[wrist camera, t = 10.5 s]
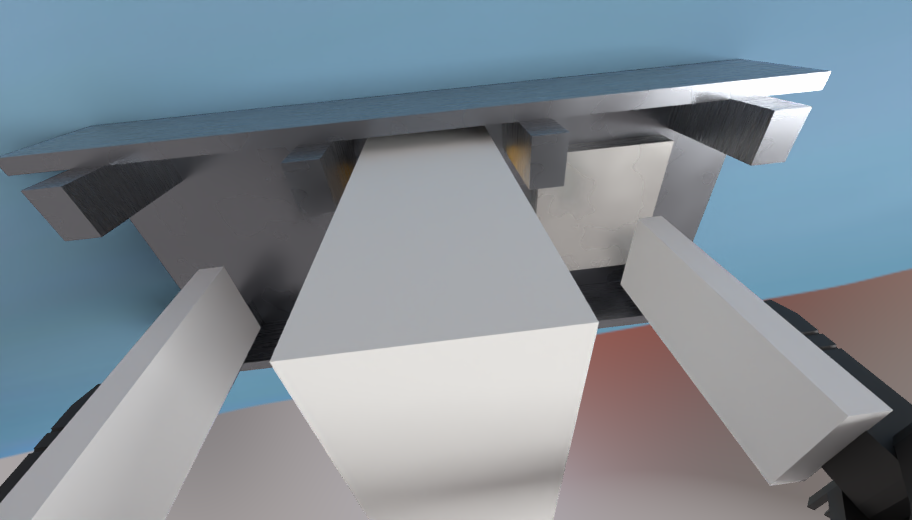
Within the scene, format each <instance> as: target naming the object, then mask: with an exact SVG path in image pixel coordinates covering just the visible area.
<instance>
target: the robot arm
mask: <svg viewBox="0 0 912 520" xmlns="http://www.w3.org/2000/svg"><path fill="white" fill-rule="evenodd" d="M621 286H622V287H623V288H624V290H625V291H626V292H627V294H628V295H629V296H630V298H631V299H632V300H633V302H634V303H635V304H636V306H637V307H638V308H639V310H640V311H641V313H642V314H643V315H644V317H645V318H646V319H647V321H648V322H649V323H650V325H651V326H652V327H653V329H654V330H655V331H656V333H657V334H658V335H659V337H660V338H661V339H662V341H663V342H664V343H665V345H666V346H667V347H668V349H669V350H670V351H671V353H672V354H673V355H674V357H675V358H676V360H677V361H678V362H679V363H680V365H681V366H682V368H683V369H684V370H685V372H686V373H687V374H688V376H689V377H690V378H691V380H692V381H693V382H694V383H695V385H696V386H697V388H698V389H699V391H700V392H701V393H702V395H703V396H704V397H705V399H706V400H707V401H708V403H709V404H710V405H711V407H712V408H713V409H714V411H715V412H716V413H717V415H718V416H719V417H720V419H721V420H722V421H723V423H724V424H725V425H726V427H727V428H728V430H729V431H730V432H731V433H732V435H733V436H734V438H735V439H736V440H737V442H738V443H739V444H740V446H741V447H742V448H743V450H744V451H745V452H746V454H747V455H748V456H749V458H750V459H751V460H752V462H753V463H754V464H755V466H756V467H757V468H758V470H759V471H760V472H761V474H762V475H763V477H764V478H765V479H766V481H767V482H768V483H769V485H770V486H771V485H778V484H785V483H792V482H799V481H805V480H807V479H808V478H809V477H810V476H812V475H813V474H814V473H815V472H817V471H818V470H819V469H820V468H823V469H824V470H825V472H826V473H827V474H828V475H829V476H830V477H831V479H832V480H833V481H831V482H830V483H829V484H827V485H826V486H825V487H823V488H822V489H821V490H819V491H818V492H816V493H815V494H814V495H812V496H811V497H810V498H809V501H808V506H807V507H808V508H811V509H813V510H815V509H817V508H818V507H820V506H821V505H823V504H824V503H825V502H827V501H828V502H829V509H828V510H827V511H826V513H825V514H824V515H825V516H827V517H829V518H830V519H831V520H912V405H911V404H910V403H909V402H908V401H907V400H905V399H904V398H903V397H901V396H900V395H899V394H898V393H896V392H895V391H894V390H893V389H891V388H890V387H889V386H888V385H886V384H885V383H884V382H883V381H881V380H880V379H879V378H877V377H876V376H875V375H874V374H873V373H871V372H870V371H869V370H867V369H866V368H865V367H864V366H863V365H861V364H860V363H859V362H857V361H856V360H855V359H854V358H852V357H851V356H850V355H849V354H847V353H846V352H845V351H844V350H842V349H838V348H837V347H836V344H835V343H834V342H832V341H831V340H830V339H829V338H827V337H826V336H825V335H823V334H819V333H818V330H817V329H816V328H815V327H813V326H812V325H811V324H810V323H808V322H807V321H806V320H805V319H803V318H802V317H801V316H800V315H798V314H797V313H795V312H793V311H791V310H790V309H787V308H786V307H784V306H782V305H780V304H778V303H776V302H774V301H772V300H766V301H762V300H761V299H760V298H759V297H758V296H756V295H755V294H754V293H753V292H752V291H750V290H749V289H748V288H747V287H746V286H745V285H743V284H742V283H741V282H740V281H739V280H737V279H736V278H735V277H734V276H733V275H731V274H730V273H729V272H728V271H727V270H725V269H724V268H723V267H722V266H721V265H719V264H718V263H717V262H716V261H715V260H714V259H712V258H711V257H710V256H709V255H708V254H706V253H705V252H704V251H703V250H702V249H700V248H699V247H698V246H697V245H696V244H694V243H693V242H692V241H691V240H690V239H688V238H687V237H686V236H685V235H684V234H682V233H681V232H680V231H679V230H678V229H677V228H675V227H674V226H673V225H672V224H671V223H669V222H668V221H667V220H666V219H665V218H663V217H662V216H656V217H647V218H639V219H638V221H637V224H636V228H635V232H634V236H633V239H632V243H631V247H630V250H629V254H628V258H627V261H626V265H625V269H624V272H623V276H622V280H621ZM260 328H261V327H260V325H259V324H258V322H257V321H256V319H255V317H254V316H253V314H252V312H251V311H250V309H249V307H248V306H247V304H246V302H245V301H244V299H243V297H242V296H241V294H240V293H239V291H238V289H237V288H236V286H235V284H234V283H233V281H232V279H231V278H230V276H229V274H228V273H227V271H226V269H225V268H224V267H215V268H207V269H199V270H198V271H197V272H196V273H195V274H194V276H193V277H192V278H191V279H190V280H189V281H188V283H187V284H186V285H185V286H184V287H183V289H182V290H181V291H180V292H179V293H178V294H177V296H176V297H175V298H174V299H173V300H172V301H171V303H170V304H169V305H168V306H167V307H166V309H165V310H164V311H163V312H162V313H161V314H160V316H159V317H158V318H157V319H156V320H155V321H154V323H153V324H152V325H151V326H150V327H149V329H148V330H147V331H146V332H145V333H144V334H143V336H142V337H141V338H140V339H139V340H138V342H137V343H136V344H135V345H134V346H133V347H132V349H131V350H130V351H129V352H128V353H127V354H126V356H125V357H124V358H123V359H122V360H121V362H120V363H119V364H118V365H117V366H116V367H115V369H114V370H113V371H112V372H111V373H110V374H109V376H108V377H107V378H106V379H105V380H104V382H103V383H102V384H98V385H96V386H95V387H94V388H93V389H91V390H90V391H89V392H88V393H86V394H85V395H84V396H83V397H81V398H80V399H79V400H78V401H76V402H75V403H74V404H73V405H72V406H71V407H70V408H69V409H68V410H67V411H66V412H65V413H64V415H63V416H62V417H61V418H60V419H59V420H58V421H57V423H56V424H55V425H54V426H53V427H52V428H51V429H52V431H51V433H47V434H46V435H45V436H44V437H43V439H42V440H41V441H40V442H39V443H38V444H37V445H36V446H35V448H34V452H33V453H31V454H28V456H27V457H26V458H25V459H24V460H23V461H22V462H21V464H20V465H19V466H18V467H17V468H16V469H15V471H14V472H13V473H12V474H11V475H10V476H9V477H8V478H7V480H6V481H5V482H4V483H3V484H2V485H1V486H0V520H165V519H166V517H167V515H168V513H169V511H170V509H171V507H172V505H173V503H174V501H175V499H176V497H177V495H178V493H179V491H180V489H181V487H182V485H183V483H184V481H185V479H186V477H187V475H188V473H189V471H190V469H191V467H192V465H193V463H194V461H195V459H196V457H197V455H198V453H199V451H200V449H201V447H202V445H203V443H204V441H205V439H206V437H207V435H208V433H209V431H210V429H211V427H212V425H213V423H214V421H215V419H216V417H217V415H218V413H219V411H220V409H221V407H222V405H223V402H224V400H225V398H226V396H227V394H228V392H229V390H230V388H231V386H232V384H233V382H234V380H235V378H236V376H237V374H238V372H239V370H240V368H241V366H242V364H243V362H244V360H245V358H246V356H247V354H248V352H249V350H250V348H251V346H252V344H253V342H254V340H255V338H256V336H257V334H258V332H259V330H260Z"/></svg>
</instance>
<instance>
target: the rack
mask: <svg viewBox="0 0 912 520" xmlns="http://www.w3.org/2000/svg"><path fill="white" fill-rule="evenodd" d="M830 73H831V71H826V70H819V69H811V68H804V67H796V66H789V65H782V64H774V63H767V62H759V61H752V60H744V59H736V60H727V61H717V62H707V63H697V64H688V65H678V66H668V67H658V68H649V69H639V70H629V71H620V72H610V73H600V74H590V75H581V76H571V77H561V78H552V79H542V80H532V81H522V82H513V83H503V84H493V85H484V86H474V87H464V88H454V89H445V90H435V91H425V92H415V93H406V94H396V95H386V96H377V97H367V98H357V99H347V100H338V101H328V102H318V103H309V104H299V105H289V106H279V107H270V108H260V109H250V110H241V111H231V112H221V113H211V114H202V115H192V116H182V117H173V118H163V119H153V120H143V121H134V122H124V123H114V124H104V125H95V126H89V127H86V128H83V129H80V130H77V131H74V132H71V133H68V134H65V135H62V136H59V137H56V138H53V139H50V140H47V141H44V142H41V143H38V144H35V145H32V146H29V147H26V148H23V149H20V150H17V151H14V152H11V153H8V154H5V155H2V156H0V168H1V169H2V170H3V171H4V172H5V173H6V174H7V175H8V176H11V175H21V174H30V173H40V172H49V171H58V170H67V171H65V172H63V173H61V174H58V175H56V176H54V177H51V178H49V179H47V180H44V181H42V182H40V183H38V184H35V185H33V186H31V187H28V188H26V189H24V190H22V191H21V192H22V193H23V194H24V195H25V196H26V198H27V199H28V200H29V201H30V202H31V203H32V204H33V205H34V207H35V208H36V209H37V210H38V211H39V212H40V213H41V214H42V216H43V217H44V218H45V219H46V220H47V221H48V222H49V223H50V225H51V226H52V227H53V228H54V229H55V230H56V231H57V232H58V234H59V235H60V236H61V237H62V238H63V239H64V240H65V241H70V240H79V239H89V238H98V237H103V236H104V235H106V234H107V233H108V232H110V231H111V230H113V229H114V228H116V227H117V226H119V225H120V224H121V223H123V222H124V221H126V220H127V219H129V218H130V220H131V221H132V223H133V224H134V225H135V227H136V228H137V230H138V231H139V232H140V234H141V235H142V236H143V238H144V239H145V241H146V242H147V243H148V245H149V246H150V247H151V249H152V250H153V252H154V253H155V254H156V256H157V257H158V259H159V260H160V261H161V263H162V264H163V265H164V267H165V268H166V270H167V271H168V272H169V274H170V275H171V276H172V278H173V279H174V281H175V282H176V283H177V285H178V286H179V288H180V289H181V290H182V289H183V287H184V286H185V285H186V284H187V283H188V281H189V280H190V279H191V278H192V277H193V276H194V274H195V273H196V272H197V271H198V270H199V269H207V268H215V267H224V268H225V269H226V271H227V273H228V274H229V276H230V278H231V279H232V281H233V283H234V284H235V286H236V288H237V289H238V291H239V293H240V294H241V296H242V297H243V299H244V301H245V302H246V304H247V306H248V307H249V309H250V311H251V312H252V314H253V316H254V317H255V319H256V321H257V322H258V324H259V325H260V327H261V328H260V330H259V332H258V334H257V336H256V338H255V340H254V342H253V344H252V346H251V348H250V350H249V352H248V354H247V356H246V358H245V360H244V362H243V364H242V366H241V368H240V370H239V372H240V371H247V370H255V369H264V368H272V365H271V364H270V360H271V357H272V355H273V353H274V350H275V348H276V346H277V344H278V341H279V339H280V337H281V334H282V332H283V330H284V328H285V325H286V323H287V321H288V318H289V316H290V314H291V311H292V309H293V307H294V305H295V302H296V300H297V298H298V295H299V293H300V291H301V289H302V286H303V284H304V282H305V279H306V277H307V275H308V273H309V270H310V268H311V266H312V263H313V261H314V259H315V257H316V254H317V252H318V250H319V247H320V245H321V243H322V241H323V238H324V236H325V234H326V231H327V229H328V227H329V225H330V222H331V220H332V218H333V215H334V213H335V211H336V209H337V206H338V204H339V202H340V199H341V197H342V195H343V193H344V190H345V188H346V186H347V183H348V181H349V179H350V177H351V174H352V172H353V170H354V167H355V165H356V163H357V161H358V158H359V156H360V154H361V151H362V149H363V147H364V144H365V142H366V140H367V138H371V137H381V136H390V135H400V134H409V133H419V132H428V131H438V130H447V129H457V128H466V127H475V126H485V128H486V129H487V131H488V133H489V135H490V136H491V138H492V140H493V141H494V143H495V145H496V147H497V148H498V150H499V152H500V153H501V155H502V157H503V159H504V160H505V162H506V164H507V165H508V167H509V169H510V170H511V172H512V174H513V176H514V177H515V179H516V181H517V182H518V184H519V186H520V188H521V189H522V191H523V193H524V194H525V196H526V198H527V200H528V201H529V203H530V205H531V206H532V208H533V210H534V212H535V213H536V215H537V217H538V218H539V220H540V222H541V224H542V225H543V227H544V229H545V230H546V232H547V234H548V236H549V237H550V239H551V241H552V242H553V244H554V246H555V248H556V249H557V251H558V253H559V254H560V256H561V258H562V260H563V261H564V263H565V265H566V266H567V268H568V270H569V272H570V273H571V275H572V277H573V278H574V280H575V282H576V284H577V285H578V287H579V289H580V290H581V292H582V294H583V296H584V297H585V299H586V301H587V302H588V304H589V306H590V308H591V309H592V311H593V313H594V314H595V316H596V318H597V320H598V321H599V324H598V328H606V327H614V326H623V325H631V324H640V323H648V321H647V319H646V318H645V317H644V315H643V314H642V313H641V311H640V310H639V308H638V307H637V306H636V304H635V303H634V302H633V300H632V299H631V298H630V296H629V295H628V294H627V292H626V291H625V290H624V288H623V287H622V286H621V280H622V276H623V272H624V269H625V265H626V261H627V258H628V254H629V250H630V247H631V243H632V239H633V236H634V232H635V228H636V224H637V221H638V219H639V218H647V217H656V216H662V217H663V218H665V219H666V220H667V221H668V222H669V223H671V224H672V225H673V226H674V227H675V228H677V229H678V230H679V231H680V232H681V233H682V234H684V235H685V236H686V237H687V238H688V239H690V240H691V241H692V242H693V240H694V237H695V234H696V232H697V229H698V227H699V224H700V221H701V219H702V216H703V214H704V211H705V209H706V206H707V203H708V201H709V198H710V196H711V193H712V190H713V188H714V185H715V183H716V180H717V178H718V175H719V172H720V170H721V167H722V165H723V162H724V159H725V157H726V154H727V155H729V156H731V157H733V158H735V159H738V160H740V161H742V162H744V163H747V164H749V165H751V166H752V165H761V164H770V163H779V162H785V160H786V158H787V156H788V154H789V152H790V150H791V148H792V146H793V144H794V142H795V140H796V138H797V136H798V134H799V132H800V130H801V128H802V126H803V124H804V122H805V120H806V118H807V116H808V114H809V112H810V110H811V108H812V106H807V105H803V104H799V103H794V102H790V101H786V100H781V99H777V98H773V97H768V96H769V95H779V94H788V93H798V92H807V91H817V90H822V89H823V87H824V85H825V83H826V81H827V79H828V77H829V75H830ZM68 169H70V170H68ZM598 328H597V329H598ZM239 372H238V374H239ZM238 374H237V376H238ZM237 376H236V378H237ZM236 378H235V380H236ZM235 380H234V381H235ZM233 383H234V382H233ZM232 385H233V384H232ZM231 387H232V386H231ZM230 389H231V388H230ZM229 391H230V390H229ZM228 393H229V392H228Z"/></svg>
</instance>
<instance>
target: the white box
mask: <svg viewBox="0 0 912 520" xmlns="http://www.w3.org/2000/svg"><path fill="white" fill-rule="evenodd" d="M598 324H599V321H598V320H597V318H596V316H595V314H594V313H593V311H592V309H591V308H590V306H589V304H588V302H587V301H586V299H585V297H584V296H583V294H582V292H581V290H580V289H579V287H578V285H577V284H576V282H575V280H574V278H573V277H572V275H571V273H570V272H569V270H568V268H567V266H566V265H565V263H564V261H563V260H562V258H561V256H560V254H559V253H558V251H557V249H556V248H555V246H554V244H553V242H552V241H551V239H550V237H549V236H548V234H547V232H546V230H545V229H544V227H543V225H542V224H541V222H540V220H539V218H538V217H537V215H536V213H535V212H534V210H533V208H532V206H531V205H530V203H529V201H528V200H527V198H526V196H525V194H524V193H523V191H522V189H521V188H520V186H519V184H518V182H517V181H516V179H515V177H514V176H513V174H512V172H511V170H510V169H509V167H508V165H507V164H506V162H505V160H504V159H503V157H502V155H501V153H500V152H499V150H498V148H497V147H496V145H495V143H494V141H493V140H492V138H491V136H490V135H489V133H488V131H487V129H486V128H485V126H475V127H466V128H457V129H447V130H438V131H428V132H419V133H409V134H400V135H390V136H381V137H371V138H367V140H366V142H365V144H364V147H363V149H362V151H361V154H360V156H359V158H358V161H357V163H356V165H355V167H354V170H353V172H352V174H351V177H350V179H349V181H348V183H347V186H346V188H345V190H344V193H343V195H342V197H341V199H340V202H339V204H338V206H337V209H336V211H335V213H334V215H333V218H332V220H331V222H330V225H329V227H328V229H327V231H326V234H325V236H324V238H323V241H322V243H321V245H320V247H319V250H318V252H317V254H316V257H315V259H314V261H313V263H312V266H311V268H310V270H309V273H308V275H307V277H306V279H305V282H304V284H303V286H302V289H301V291H300V293H299V295H298V298H297V300H296V302H295V305H294V307H293V309H292V311H291V314H290V316H289V318H288V321H287V323H286V325H285V328H284V330H283V332H282V334H281V337H280V339H279V341H278V344H277V346H276V348H275V350H274V353H273V355H272V357H271V360H270V364H271V365H272V367H273V368H274V370H275V372H276V373H277V375H278V376H279V378H280V379H281V381H282V383H283V384H284V386H285V387H286V389H287V391H288V392H289V394H290V395H291V397H292V398H293V400H294V402H295V403H296V405H297V406H298V408H299V410H300V411H301V413H302V414H303V416H304V417H305V419H306V421H307V422H308V424H309V425H310V427H311V428H312V430H313V432H314V433H315V435H316V436H317V438H318V440H319V441H320V443H321V444H322V446H323V448H324V449H325V451H326V452H327V454H328V455H329V457H330V459H331V460H332V462H333V463H334V465H335V467H336V468H337V470H338V471H339V473H340V475H341V476H342V478H343V479H344V481H345V482H346V484H347V486H348V487H349V489H350V490H351V492H352V494H353V495H354V497H355V498H356V500H357V501H358V503H359V505H360V506H361V508H362V509H363V511H364V512H365V514H366V516H367V517H368V519H369V520H553V518H554V513H555V510H556V505H557V501H558V496H559V492H560V488H561V484H562V479H563V475H564V471H565V467H566V462H567V457H568V454H569V449H570V445H571V441H572V436H573V432H574V428H575V423H576V419H577V414H578V410H579V406H580V402H581V397H582V393H583V389H584V384H585V380H586V375H587V371H588V367H589V362H590V359H591V354H592V349H593V345H594V341H595V337H596V333H597V328H598Z"/></svg>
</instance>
